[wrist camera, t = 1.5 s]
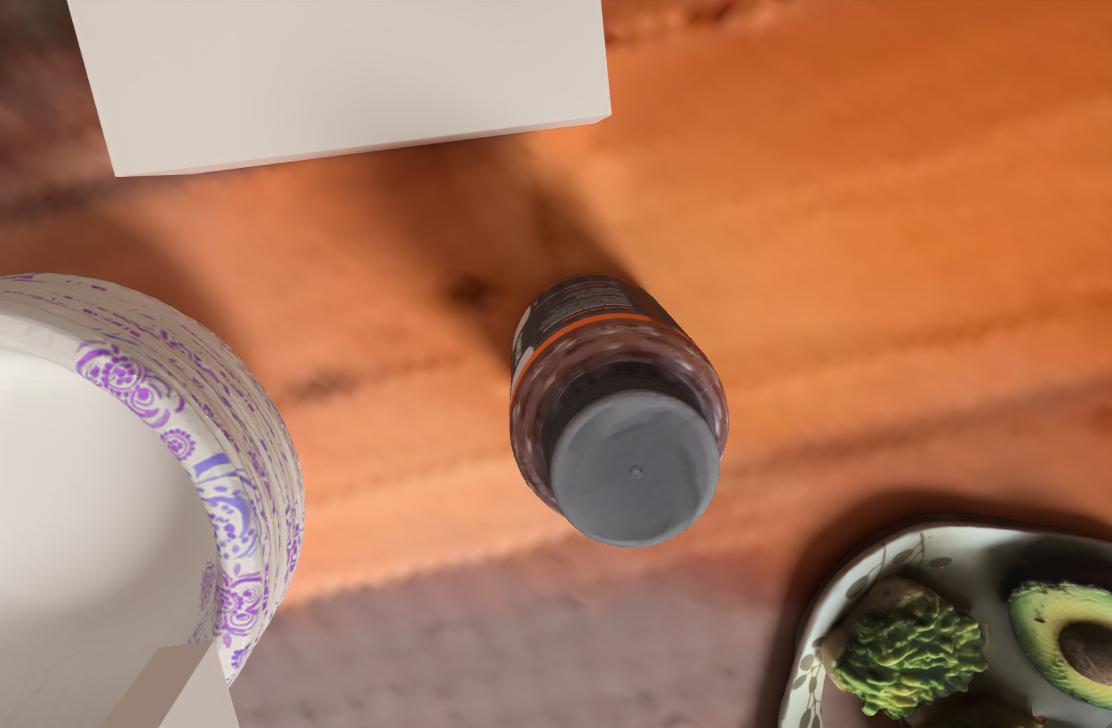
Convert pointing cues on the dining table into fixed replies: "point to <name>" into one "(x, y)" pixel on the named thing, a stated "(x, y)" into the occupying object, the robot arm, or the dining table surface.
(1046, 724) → the salad plate
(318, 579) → the dining table surface
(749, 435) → the dining table surface
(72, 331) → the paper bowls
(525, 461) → the supplement bottle
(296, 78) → the white flat block
